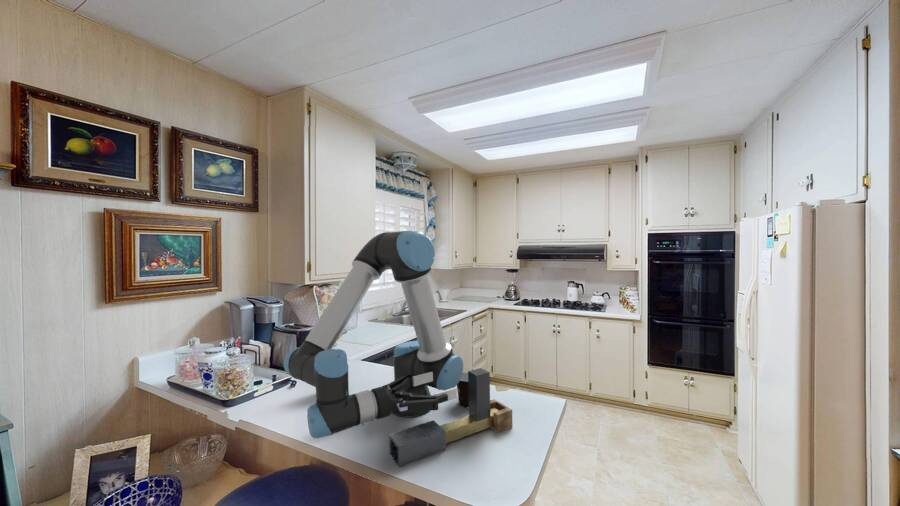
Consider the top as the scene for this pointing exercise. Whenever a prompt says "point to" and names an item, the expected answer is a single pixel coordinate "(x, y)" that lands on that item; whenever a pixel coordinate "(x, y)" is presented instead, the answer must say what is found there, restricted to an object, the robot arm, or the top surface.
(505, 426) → the open wooden box
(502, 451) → the top surface
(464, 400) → the coffee mug
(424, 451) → the sleeve
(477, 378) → the grey yellow upright-t piece
